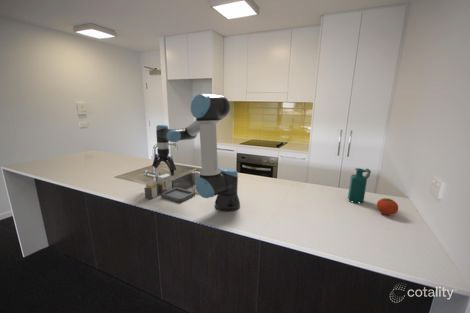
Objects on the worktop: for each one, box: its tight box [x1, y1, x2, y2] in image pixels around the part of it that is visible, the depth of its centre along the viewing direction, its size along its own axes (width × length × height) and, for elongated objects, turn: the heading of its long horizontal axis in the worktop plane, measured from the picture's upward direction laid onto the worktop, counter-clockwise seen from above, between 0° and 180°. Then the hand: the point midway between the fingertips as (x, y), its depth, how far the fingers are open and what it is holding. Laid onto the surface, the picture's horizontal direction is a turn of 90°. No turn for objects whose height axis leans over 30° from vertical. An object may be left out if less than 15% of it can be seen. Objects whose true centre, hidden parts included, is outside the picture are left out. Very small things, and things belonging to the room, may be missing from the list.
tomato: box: [376, 197, 399, 216], centre depth 124 cm, size 10×10×10 cm
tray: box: [160, 186, 196, 204], centre depth 144 cm, size 17×14×3 cm
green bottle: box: [347, 167, 372, 204], centre depth 140 cm, size 10×8×22 cm
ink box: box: [157, 173, 172, 193], centre depth 151 cm, size 9×5×12 cm, turn 151°
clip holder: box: [144, 179, 175, 200], centre depth 147 cm, size 5×21×11 cm, turn 151°
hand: (164, 178), depth 150 cm, fingers open, 13 cm apart
